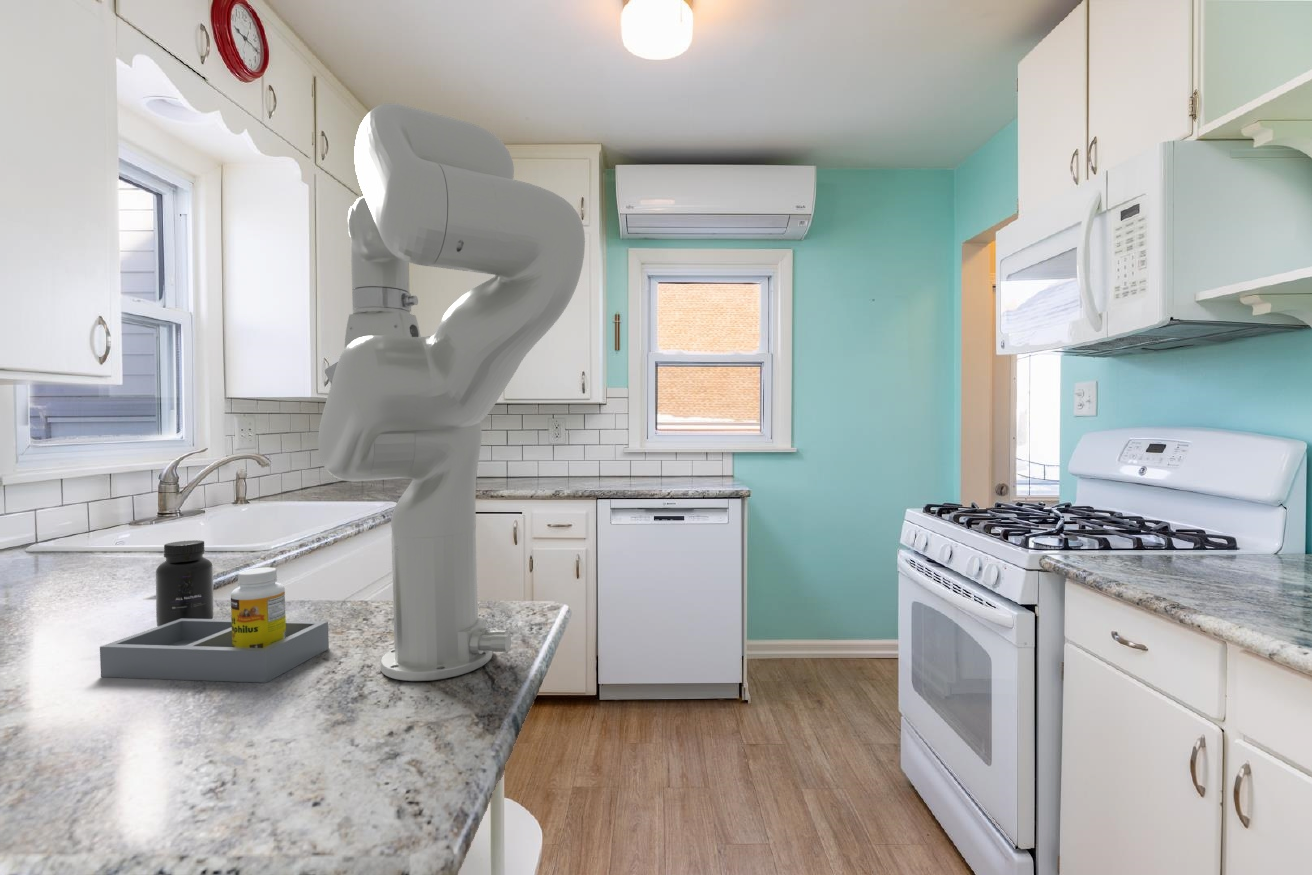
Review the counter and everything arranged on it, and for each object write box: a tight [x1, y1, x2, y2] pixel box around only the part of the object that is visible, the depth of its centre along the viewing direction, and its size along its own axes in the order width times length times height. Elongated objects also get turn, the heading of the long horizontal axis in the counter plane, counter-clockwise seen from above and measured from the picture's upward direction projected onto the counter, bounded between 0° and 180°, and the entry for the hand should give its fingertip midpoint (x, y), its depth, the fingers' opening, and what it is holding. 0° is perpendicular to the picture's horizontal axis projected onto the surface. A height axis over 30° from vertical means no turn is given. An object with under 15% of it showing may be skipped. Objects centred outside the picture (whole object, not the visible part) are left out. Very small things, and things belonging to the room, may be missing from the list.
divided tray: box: [99, 618, 330, 684], centre depth 79 cm, size 21×11×4 cm, turn 82°
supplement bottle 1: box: [155, 539, 214, 627], centre depth 96 cm, size 7×7×12 cm
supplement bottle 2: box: [230, 566, 287, 648], centre depth 79 cm, size 6×6×10 cm
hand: (385, 426), depth 93 cm, fingers open, 9 cm apart
